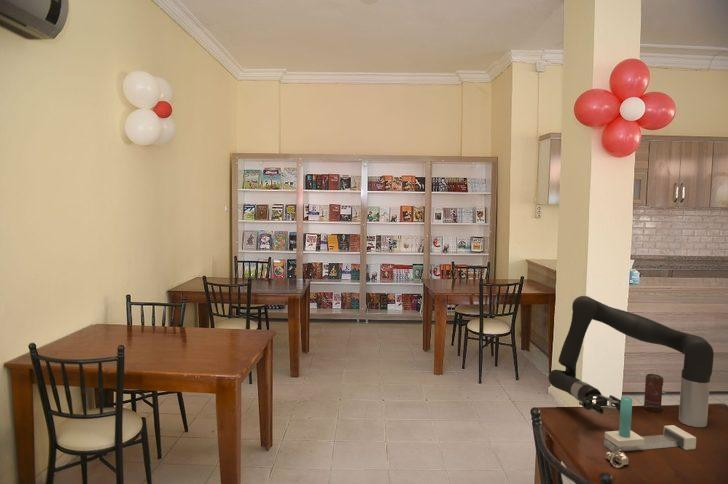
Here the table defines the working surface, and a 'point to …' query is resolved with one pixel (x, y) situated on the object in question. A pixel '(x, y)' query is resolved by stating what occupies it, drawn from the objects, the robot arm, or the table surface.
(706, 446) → the table surface
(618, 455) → the silver metal fitting
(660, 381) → the can
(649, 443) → the rail
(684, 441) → the end stop
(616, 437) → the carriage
